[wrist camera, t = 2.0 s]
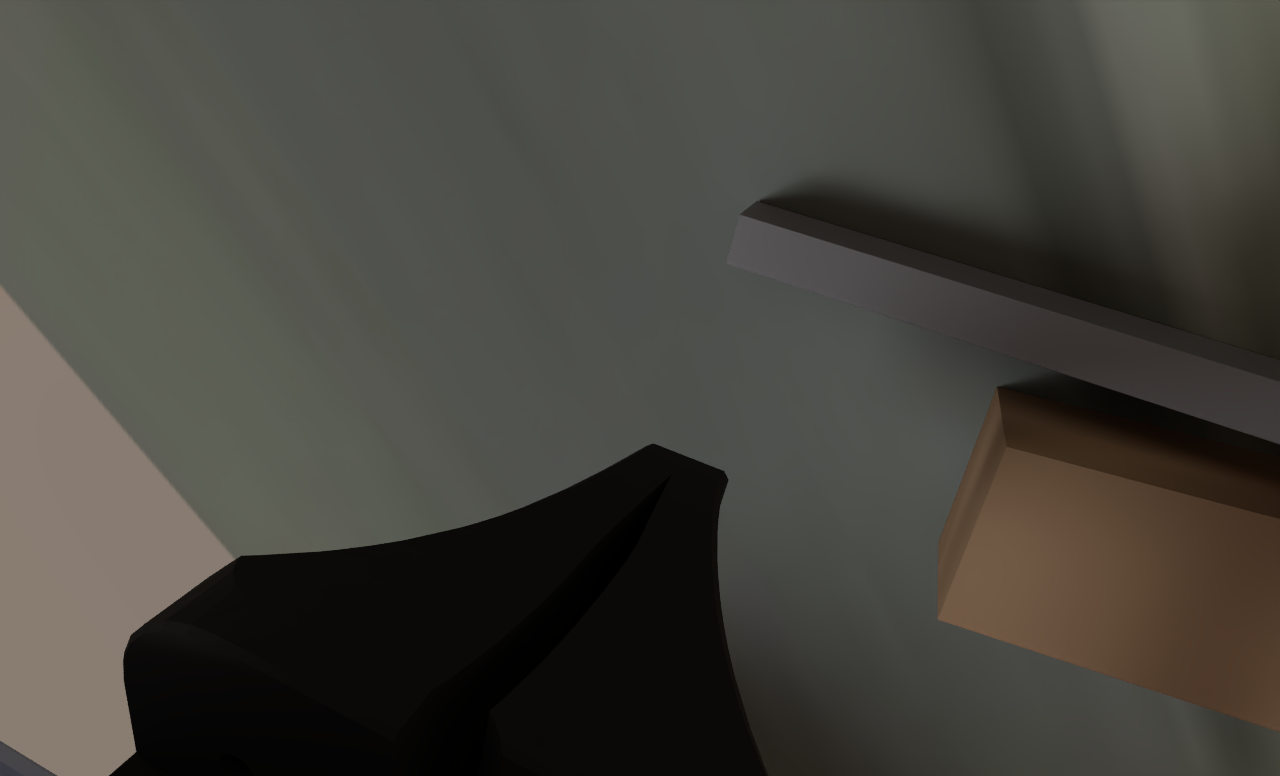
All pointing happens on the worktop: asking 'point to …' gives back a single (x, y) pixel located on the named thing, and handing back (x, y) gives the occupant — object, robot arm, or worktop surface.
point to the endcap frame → (1015, 319)
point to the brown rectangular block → (1121, 552)
